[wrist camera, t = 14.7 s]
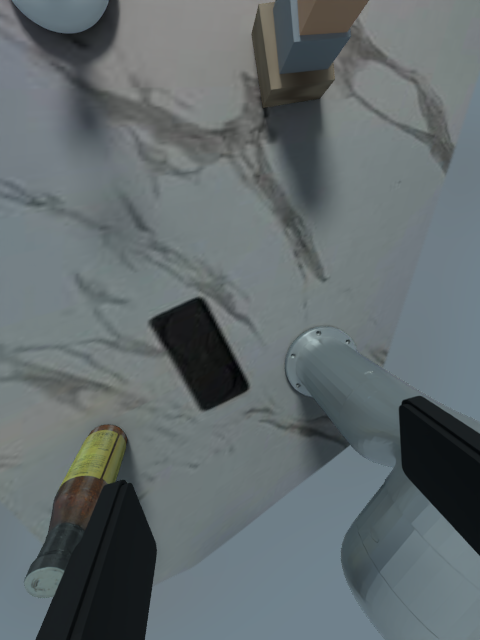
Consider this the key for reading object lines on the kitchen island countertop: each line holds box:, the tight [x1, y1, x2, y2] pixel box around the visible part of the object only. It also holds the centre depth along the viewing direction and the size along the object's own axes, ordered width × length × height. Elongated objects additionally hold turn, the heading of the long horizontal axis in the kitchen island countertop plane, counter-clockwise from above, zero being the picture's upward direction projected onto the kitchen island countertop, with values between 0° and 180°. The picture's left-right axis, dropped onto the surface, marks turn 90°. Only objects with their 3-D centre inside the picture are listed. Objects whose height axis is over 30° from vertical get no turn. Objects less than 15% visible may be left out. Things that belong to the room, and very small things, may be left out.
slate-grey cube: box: [273, 0, 351, 74], centre depth 29 cm, size 6×6×5 cm
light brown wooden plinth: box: [252, 2, 335, 108], centre depth 33 cm, size 8×8×4 cm
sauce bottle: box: [24, 425, 127, 598], centre depth 35 cm, size 7×6×20 cm
